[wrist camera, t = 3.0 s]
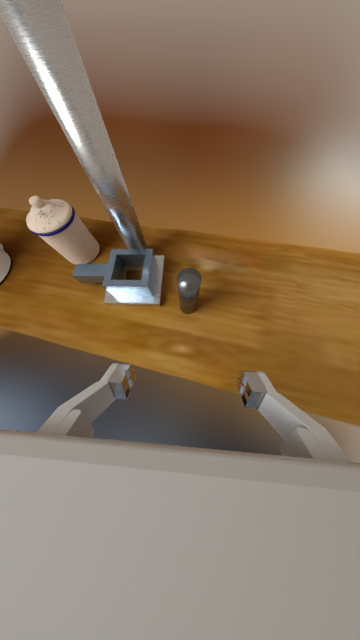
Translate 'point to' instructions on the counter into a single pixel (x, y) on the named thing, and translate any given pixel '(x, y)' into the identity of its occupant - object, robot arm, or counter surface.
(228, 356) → the counter surface
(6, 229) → the counter surface
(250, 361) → the counter surface
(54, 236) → the teacup with lid
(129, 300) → the box with upright lever
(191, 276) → the dark grey rounded rod
